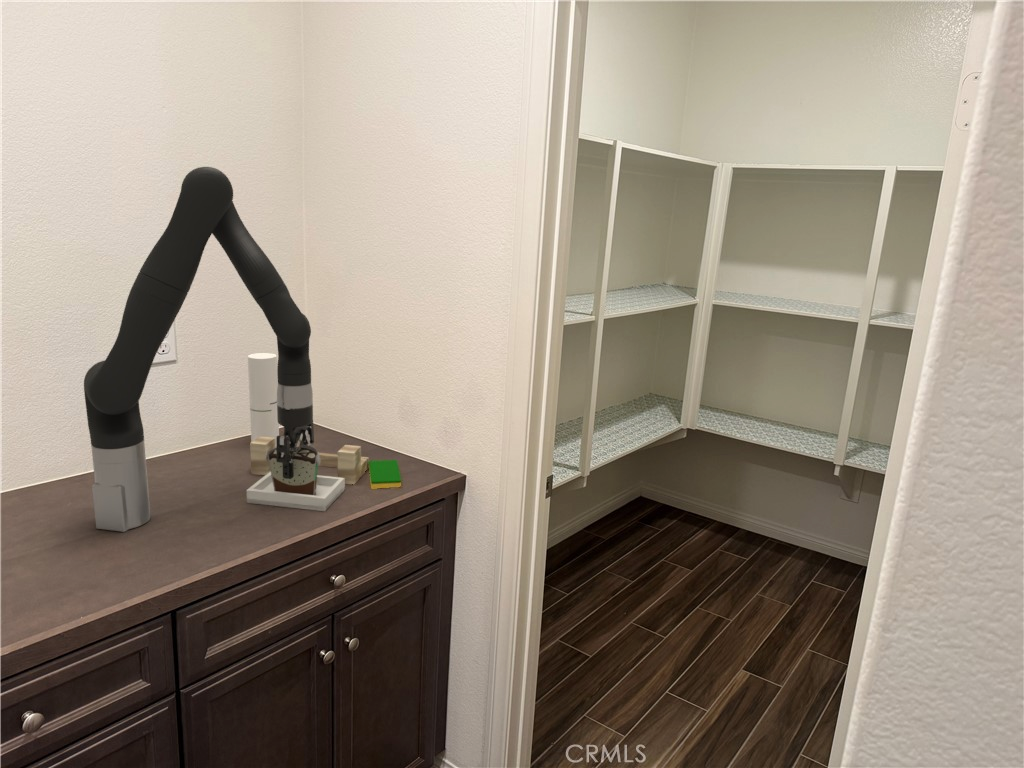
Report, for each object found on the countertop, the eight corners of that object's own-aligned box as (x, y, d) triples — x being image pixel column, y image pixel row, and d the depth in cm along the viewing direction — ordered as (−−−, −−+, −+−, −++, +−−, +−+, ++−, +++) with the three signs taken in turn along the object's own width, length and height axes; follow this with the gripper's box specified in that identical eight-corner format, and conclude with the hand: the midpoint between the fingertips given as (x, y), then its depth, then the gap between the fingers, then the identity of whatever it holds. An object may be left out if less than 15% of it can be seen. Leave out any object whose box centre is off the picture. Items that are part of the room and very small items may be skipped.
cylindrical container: (285, 445, 190) (282, 355, 184) (263, 452, 184) (259, 360, 178) (267, 439, 194) (264, 351, 187) (245, 446, 188) (241, 355, 182)
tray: (324, 511, 152) (324, 498, 151) (247, 502, 154) (246, 490, 153) (344, 489, 163) (344, 477, 163) (272, 482, 165) (271, 470, 165)
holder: (354, 484, 167) (353, 453, 165) (251, 473, 170) (250, 443, 168) (368, 468, 177) (368, 438, 175) (271, 458, 180) (270, 429, 178)
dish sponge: (396, 468, 179) (397, 459, 179) (401, 489, 166) (401, 480, 166) (368, 469, 178) (368, 460, 177) (370, 491, 165) (371, 481, 164)
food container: (330, 484, 162) (328, 445, 159) (320, 497, 156) (318, 457, 153) (280, 479, 163) (277, 440, 160) (268, 492, 158) (265, 452, 154)
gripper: (292, 392, 160) (294, 458, 164) (263, 409, 147) (265, 481, 151) (324, 395, 159) (324, 461, 163) (297, 412, 146) (298, 484, 150)
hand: (296, 471), depth 157 cm, fingers open, 8 cm apart
